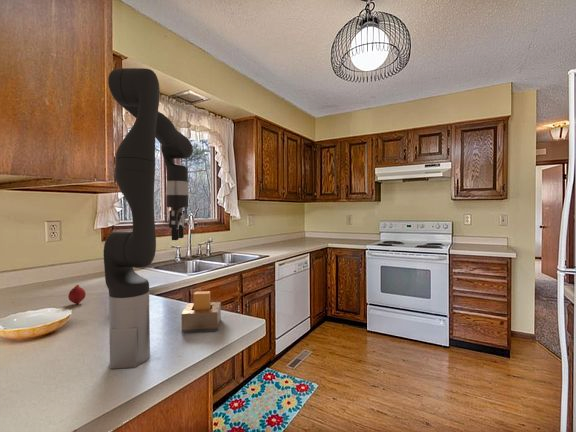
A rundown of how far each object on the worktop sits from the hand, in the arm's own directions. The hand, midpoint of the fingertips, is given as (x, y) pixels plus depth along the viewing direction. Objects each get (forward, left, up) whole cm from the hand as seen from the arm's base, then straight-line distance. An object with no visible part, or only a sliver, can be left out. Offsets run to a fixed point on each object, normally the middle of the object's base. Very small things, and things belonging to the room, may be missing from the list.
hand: (177, 239), depth 111 cm
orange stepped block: (-11, -10, -27) cm, 31 cm away
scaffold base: (-11, -10, -28) cm, 32 cm away
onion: (+21, +45, -28) cm, 57 cm away
